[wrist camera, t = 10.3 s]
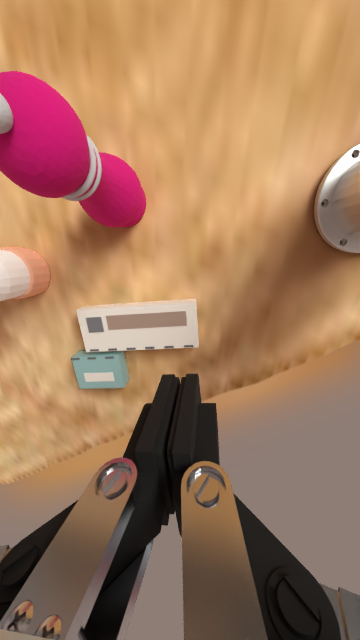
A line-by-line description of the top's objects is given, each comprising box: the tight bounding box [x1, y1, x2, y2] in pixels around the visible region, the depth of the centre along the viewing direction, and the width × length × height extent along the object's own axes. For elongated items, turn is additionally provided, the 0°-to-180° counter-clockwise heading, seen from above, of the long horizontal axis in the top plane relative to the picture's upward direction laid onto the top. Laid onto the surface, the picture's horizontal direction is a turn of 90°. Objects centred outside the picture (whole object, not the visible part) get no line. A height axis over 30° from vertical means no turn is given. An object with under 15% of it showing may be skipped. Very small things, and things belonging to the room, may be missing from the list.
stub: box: [71, 350, 129, 389], centre depth 35 cm, size 8×6×3 cm
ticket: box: [76, 299, 199, 352], centre depth 32 cm, size 18×7×3 cm, turn 94°
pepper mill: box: [0, 71, 146, 228], centre depth 19 cm, size 7×7×20 cm
